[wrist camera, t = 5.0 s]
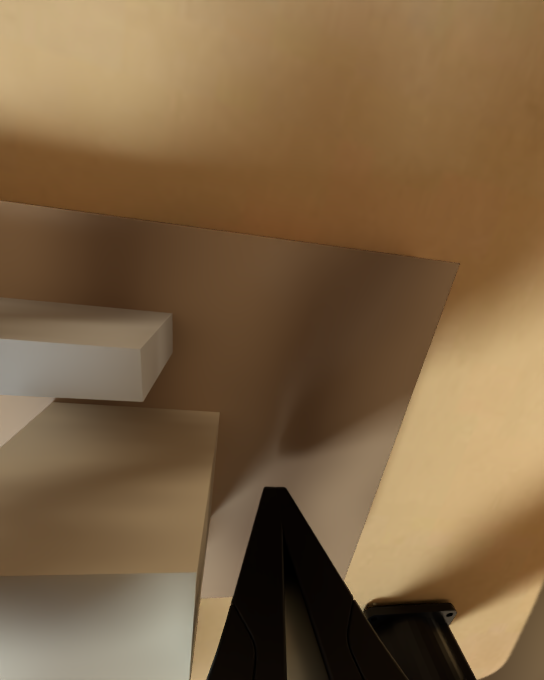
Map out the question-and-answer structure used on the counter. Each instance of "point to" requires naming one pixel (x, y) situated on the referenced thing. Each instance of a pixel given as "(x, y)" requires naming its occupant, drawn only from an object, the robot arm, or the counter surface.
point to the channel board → (224, 354)
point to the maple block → (104, 542)
